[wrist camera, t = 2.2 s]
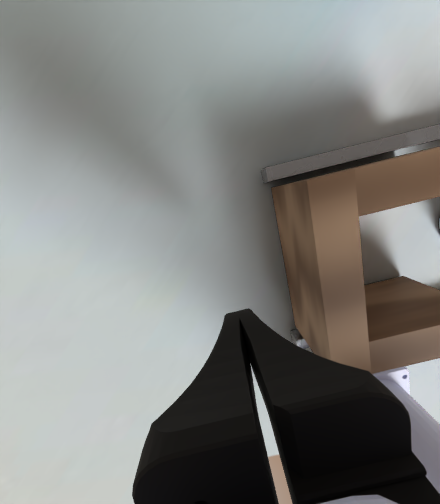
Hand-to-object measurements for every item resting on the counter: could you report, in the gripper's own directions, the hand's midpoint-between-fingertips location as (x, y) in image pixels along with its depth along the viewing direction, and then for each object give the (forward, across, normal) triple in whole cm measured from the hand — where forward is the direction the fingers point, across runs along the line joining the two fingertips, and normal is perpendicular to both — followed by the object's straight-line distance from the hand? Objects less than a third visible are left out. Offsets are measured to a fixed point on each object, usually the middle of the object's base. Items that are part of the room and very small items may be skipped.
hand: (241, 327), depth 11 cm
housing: (+8, -10, 0) cm, 13 cm away
